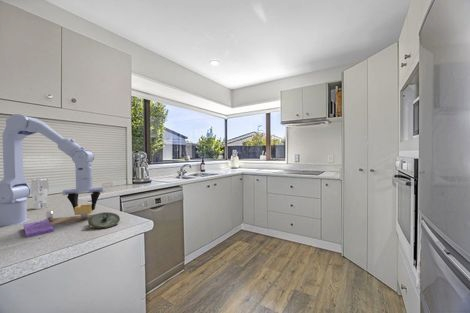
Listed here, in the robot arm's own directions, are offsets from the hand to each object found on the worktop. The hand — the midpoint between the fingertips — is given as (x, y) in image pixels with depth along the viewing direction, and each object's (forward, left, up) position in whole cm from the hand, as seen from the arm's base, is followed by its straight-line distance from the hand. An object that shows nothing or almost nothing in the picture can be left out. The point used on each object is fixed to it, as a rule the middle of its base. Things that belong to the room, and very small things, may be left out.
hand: (84, 210), depth 90 cm
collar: (0, 0, -1) cm, 1 cm away
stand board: (-6, 0, -4) cm, 7 cm away
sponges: (-11, -11, -4) cm, 16 cm away
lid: (+10, -12, -4) cm, 16 cm away
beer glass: (-30, +35, -4) cm, 46 cm away
